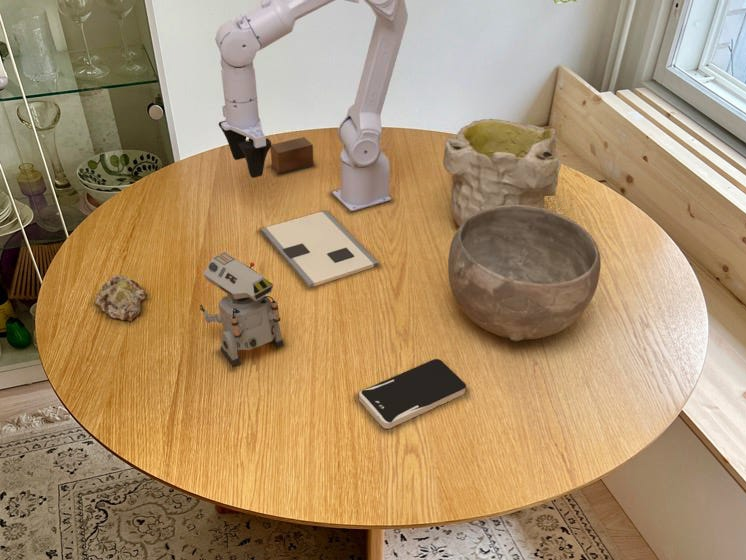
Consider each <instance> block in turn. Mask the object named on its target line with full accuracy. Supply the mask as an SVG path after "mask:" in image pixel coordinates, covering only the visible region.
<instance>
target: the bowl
mask: <svg viewBox="0 0 746 560" xmlns="http://www.w3.org/2000/svg"><path fill="white" fill-rule="evenodd" d="M601 260H602V259H601V254H600V251H599V247H598V245H597V243H596V241H595V240H594V238H593V236H592V235H591V234H590V233H589V232H588V230H587V229H585V228H584V227H582V225H581V224H579V223H578V222H576V221H575V220H573V219H571V218H569V217H567V216H565V215H563V214H561V213H558V212H556V211H553V210H550V209H547V208H539V207H534V206H526V205H503V206H497V207H493V208H489V209H486V210H482V211H479V212H477V213H474V214H472V215H471V216H469V217H467V218H466V219H465V220H464V221H463V223H462V224H461V226H460V227H459V226H458V229H457V230H456V232H455V234H454V235H453V237H452V240H451V242H450V246H449V251H448V260H447V269H448V270H447V271H448V282H449V286H450V290H451V293H452V295H453V297H454V299H455V301H456V304H458V306H459V307H460V309H461V311H462V312H463V313H464V314H465V316H467V317H468V319H470V320H471V321H472V322H473V323H474V324H475V325H477V326H479V327H480V328H482V329H483V330H486V331H487V332H490V333H492V334H493V335H496V336H499V337H502V338H506V339H509V340H511V341H515V342H519V341H522V340H535V339H541V338H545V337H549V336H552V335H555V334H557V333H559V332H561V331H562V330H564V329H566V328H567V327H570V326H571V325H572V324H574V323H575V322H576V321H577V320H578V319H580V318H581V316H582V315H583V314H584V313H585V311H586V310H587V309H588V307H589V306H590V303H591V302H592V300H593V298H594V296H595V293H596V290H597V288H598V285H599V280H600V274H601V266H602V265H601V264H602V263H601Z"/></svg>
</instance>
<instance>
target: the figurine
mask: <svg viewBox="0 0 746 560" xmlns="http://www.w3.org/2000/svg"><path fill="white" fill-rule="evenodd" d="M254 266H255V263H254V262H250V263H249V266H248V265H247V264H245V263H243V262H242V261H240V260H238V259H237V258H236V257H234V256H232V255H230V254H229V253H227V252H225V251H223V252H222V253H220V254H218V255H216V256H214V257H212V258H211V260H210V261H209V263H208V265H207V267H206V268H205V270H204V272H203V276H204V278H205V280H206V281H208V282H209V283H211V284H212V285H214V286H215V287H216V288H218V289H220V290H221V291H222V292H224V293H225V294H226V296H224V297H222V298H221V300H220V301H219V302H218V310H219V314H218V313H215V314H209V313H208V311H206V309H204V306H203V304H200V305H199V310H200V311H202V312H203V314H204V316H205V317H204V320H205V321H204V322H206V323H207V324H210V323H211V322H212V323H218V324H222V328H223V332H221V333H220V344H221V346H220V352H221V353H222V355H223V356H224V357H225V358H226V359H227V361H228V363H230V364H231V366H232V367H233V368H234V367H236V366H238V365H241V361H240V357H239V354H238V351H239V350H240V351H251V350H254V349H256V348H258V347H261V346H263V345H266V344H268V343H270V342H271V343H272V345H273V346H274V347H275V348H276V349H279V348H281V347H283V346H284V340H283V338H282V332H281V331H282V330H281V326H280V322H281V317H280V311H279V304H278V301H277V300H275V299H274V298H273V297H272V296H269V294H271V293H272V292H273V289H274V284H273V283H272V282H271V281H269V279H267V278H265V276H264V275H262V274H260V273H258V272H257V271H256V270H254V269H253V267H254Z"/></svg>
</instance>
